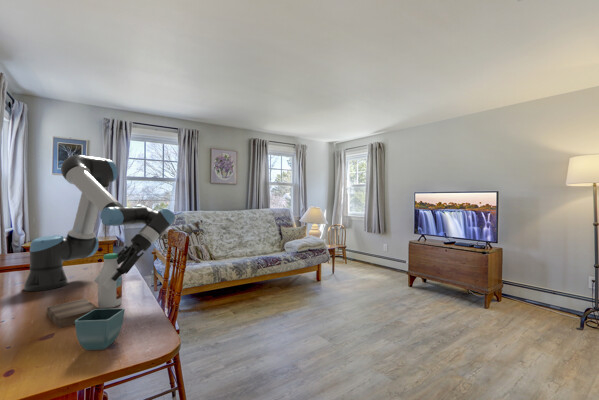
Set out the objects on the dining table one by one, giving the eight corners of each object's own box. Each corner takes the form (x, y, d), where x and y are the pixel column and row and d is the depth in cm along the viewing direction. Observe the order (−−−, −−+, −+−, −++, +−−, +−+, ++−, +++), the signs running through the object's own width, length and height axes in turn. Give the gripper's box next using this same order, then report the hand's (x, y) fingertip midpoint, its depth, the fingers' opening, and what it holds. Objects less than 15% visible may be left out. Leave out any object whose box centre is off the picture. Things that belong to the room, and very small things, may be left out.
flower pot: (94, 338, 84) (94, 308, 84) (125, 337, 84) (125, 307, 85) (72, 354, 75) (73, 321, 75) (107, 353, 76) (108, 320, 76)
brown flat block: (47, 315, 100) (47, 306, 100) (84, 306, 109) (85, 298, 109) (59, 328, 90) (59, 318, 90) (99, 317, 99) (99, 308, 99)
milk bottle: (109, 309, 106) (110, 256, 106) (92, 308, 107) (93, 255, 107) (126, 302, 113) (127, 252, 113) (110, 301, 115) (110, 251, 115)
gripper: (163, 247, 116) (119, 296, 103) (140, 241, 129) (98, 284, 117) (150, 235, 112) (102, 284, 99) (127, 231, 125) (83, 274, 112)
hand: (100, 284), depth 108 cm, fingers open, 9 cm apart
